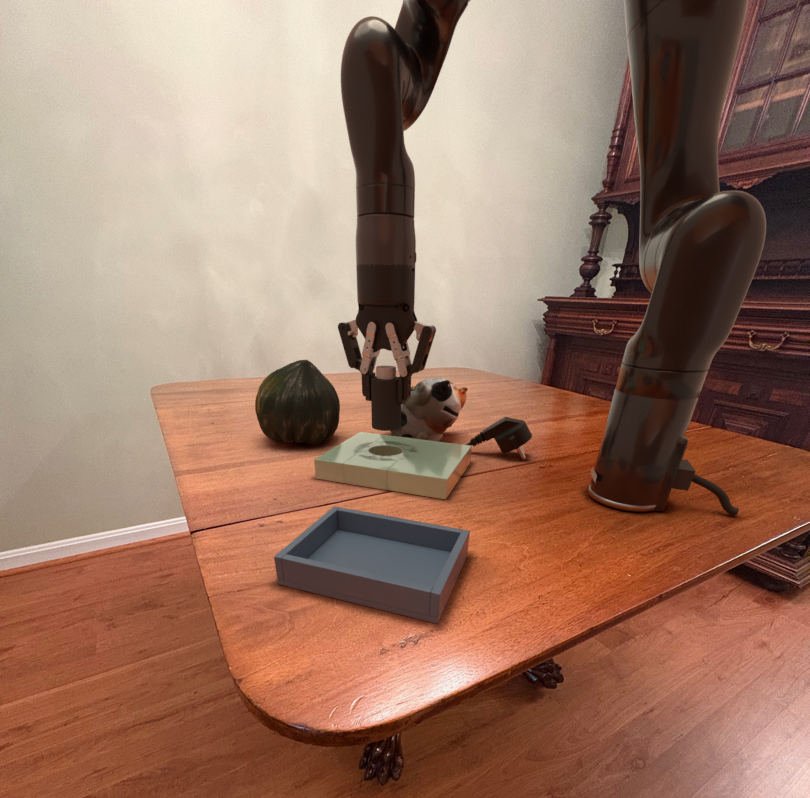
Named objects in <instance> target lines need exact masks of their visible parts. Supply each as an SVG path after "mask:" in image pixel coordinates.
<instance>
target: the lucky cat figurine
mask: <svg viewBox="0 0 810 798" xmlns="http://www.w3.org/2000/svg"><path fill="white" fill-rule="evenodd" d="M467 392H468V387H465V386H463V387H461V388H460V387H459V388H458V387H456V385H455V384H454V383H453V381H450V380H449V379H447V378H443V377H437V378H433V377H431V378H426V379H423V380H421V381H419V382H417V384H415V385H411V396H410V398H409V399H408V400H407V402H406V403H404V404H401V428H400V429H397V430H392V431H389V432H390V433H391V434H393V436H398V437H406V438H414V439H421V440H430V441H438V442H441V439H442V438H443V437H444V434H445V432H446V431H447V429H449V428H451V427H452V426H453V425H454V423H455V422H456V421H457V420H458V418H459V415H460V412H461V410H462V409H463V408H464V406H465V404H466V402H467Z"/></svg>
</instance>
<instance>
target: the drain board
mask: <svg viewBox="0 0 810 798" xmlns="http://www.w3.org/2000/svg"><path fill="white" fill-rule="evenodd" d="M472 449H473V445H471V446H470V445H466V444H463V443H462V444H461V443H454V442H444V441H439V442H438V441H430V440H421V439H414V438H406V437H398V436H395V435H388V434H381V433H374V432H365V431H360V432H358V433H356V434H354V435H353V436H351V437H349V438H347V439H346V440H344V441H342V442H341V443H339V444H337V445H336V446H334V447H332V448H331V449H328V450H327V451H326V452H324V453H321V455H319V456H317V457H316V458H314V460H313V463H314V474H315V475H314V476H315V479H318V480H323V481H328V482H336V483H340V484H341V483H342V484H347V485H353V486H359V487H366V488H372V489H376V490H377V489H378V490H383V491H391V492H395V493H396V492H397V493H402V494H403V493H404V494H409V495H416V496H421V497H428V498H432V499H440V500H447V499H448V497H449V495H450V494H451V493H452V491H453V490H454V488H455V486H456V485H457V483H458V482H459V480H460V479H461V477H462V476H463V474H464V473H465V471H466V470H467V469H468V467H469V465H470V464H471V457H472Z"/></svg>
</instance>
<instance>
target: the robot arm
mask: <svg viewBox="0 0 810 798" xmlns="http://www.w3.org/2000/svg"><path fill="white" fill-rule="evenodd" d="M470 2H471V0H402V5H401V8H400V11H399V14H398V17H397V20H396V23H395V26H392V25H391V24H390V23H389V22H388V21H387V20H384V19H383V18H381V17H378V16H375V15H371V16H366V17H363V18H361V19H359V20H358V21H357V22H356V23H355V24H354V26H353V27H352V28H351V29H350V31H349V33H348V35H347V38H346V40H345V43H344V47H343V50H342V55H341V56H342V57H341V61H340V62H341V63H340V95H341V102H342V108H343V115H344V120H345V121H344V122H345V126H346V132H347V137H348V143H349V147H350V153H351V157H352V161H353V165H354V170H355V199H356V200H355V202H356V204H355V205H356V206H355V207H356V230H355V262H356V263H355V266H356V267H355V268H356V269H355V270H356V295H357V297H356V298H357V306H358V310H357V314H356V316H355V319H354V320H350V321H344V322H343V321H342V322H339V323H338V324H337V331H338V333H339V337H340V340H341V343H342V348H343V351H344V353H345V357H346V361H347V364H348V367H349V368H351V369H355V370H357V371H359V372H360V374H361V393H362V397H365V401H366V402H371V378H372V377H375V376H376V372H374V370H375V369H376V363H377V359H378V357H379V356H380V353H381V350H386V351H389V352H391V353H392V356H393V359H394V360H395V363H396V365H397V367H396V368H397V370H398V371H397V372H398V375H399V376H397V377H398V399H397V402H398V404H404V403H406V402H407V400H408V399H409V398H410V396H411V387H412V376H413V375H414V374H418V373H419V372H422V371H424V370H425V368H426V365H427V362H428V358H429V355H430V352H431V349H432V346H433V342H434V339H435V336H436V333H437V328H436V326H434V324H433V325H431V324H429V325H428V324H425V323H423V322H420V321H419V320H418V318H417V316H416V313H415V298H416V297H415V295H416V294H415V293H416V291H415V290H416V262H417V251H416V250H417V249H416V248H417V239H416V238H417V237H416V229H415V228H416V227H415V208H416V207H415V206H416V205H415V203H416V202H415V201H416V174H415V167H414V164H413V161H412V160H411V157H410V156H409V154H408V151H407V149H406V144H405V134H404V133H405V132H406V131H407V130H409V129H410V128H411V127H412V126H413V125H414V124H415V123H416V122H417V121H418V119H419V118H420V116H421V115H422V113H423V112H424V110H425V109H426V107H427V105H428V103H429V101H430V99H431V96H432V94H433V91H434V90H435V87H436V84H437V81H438V79H439V77H440V73H441V71H442V69H443V66H444V63H445V61H446V57H447V55H448V53H449V51H450V46H451V42H452V40H453V36H454V34H455V31H456V28H457V25H458V23H459V21H460V20H461V18H462V16H463V14H464V13H465V11H466V10H467V7H468V6H469V3H470ZM748 4H749V0H623V9H624V23H625V24H624V25H625V34H626V35H625V36H626V47H627V55H628V63H629V71H630V81H631V95H632V107H633V117H634V126H635V135H636V143H637V151H638V161H639V180H640V185H639V186H640V191H639V193H640V197H639V198H640V202H639V205H640V206H639V239H638V242H639V245H638V250H639V251H638V265H639V273H640V274H639V275H640V277H641V281H642V283H643V285H644V286H645V288H646V290H647V291H648V292H649V293H650V298H649V302H648V304H647V308H646V312H645V314H644V317H643V320H642V321H641V324H640V326H639V328H638V329H637V331H636V332H635V333H634V335H632V336H631V337H630V338H629V339H628V341H627V343H626V346H625V349H624V353H623V356H622V360H621V364H620V368H619V371H618V376H617V379H616V384H615V387H614V392H613V395H612V399H611V403H610V406H609V411H608V415H607V419H606V422H605V426H604V430H603V434H602V437H601V442H600V446H599V450H598V453H597V457H596V461H595V465H594V467H593V466H591V469H590V476H591V479H590V484H589V485H588V489H587V493H588V496H589V497H590V498H591V499H592V500H594V501H596V502H597V503H600V504H601V505H604V506H606V507H610V508H613V509H617V510H621V511H627V512H638V513H639V512H640V513H642V512H643V513H645V512H646V513H647V512H652V511H653V512H655V511H656V512H664V511H665V508H666V505H667V503H668V500H669V498H670V494H671V493H672V489H673V490H674V489H675V490H681V491H687V492H688V491H689V490H690V486H691V485H692V483H693V484H696V485H698V486H700V487H702V488H704V489H705V490H708V491H709V492H710V493H712V494H713V495H714V496H715V497H716V498H717V499H718V501H719V503H720V506H721V507H722V509H723V510H724V512H726V513H727V514H728V515H731V516H737V515H738V514H739V511H740V509H739V507H734V506H733V505H732V502H731V500H730V498H729V496H728V494H727V493H726V492H725V490H724V489H722V488H721V487H720V486H718V485H717V484H715V483H714V482H712V481H710V480H709V479H706V478H704V477H703V476H700V475H699V474H696V469H695V468H694V467H693V466H692V464H691V463H690V461H689V460H688V459H684V456H685V453H686V450H687V448H688V445H689V438H688V437H687V436H686V434H687V431H688V429H689V426H690V423H691V420H692V417H693V415H694V411H695V409H696V406H697V403H698V401H699V397H700V394H701V392H702V389H703V387H704V383H705V381H706V377H707V375H708V373H709V369H710V367H711V365H712V361H713V359H714V357H715V356H716V354H717V352H718V351H719V350H720V349H721V348H722V347H723V345H724V344H725V342H726V341H727V339H728V338H729V336H730V334H731V332H732V329H733V328H734V325H735V322H736V321H737V318H738V316H739V313H740V310H741V308H742V306H743V303H744V301H745V298H746V297H747V294H748V291H749V288H750V286H751V283H752V281H753V280H754V276H755V275H756V271H757V269H758V266H759V263H760V260H761V258H762V253H763V249H764V246H765V241H766V236H767V218H766V212H765V209H764V207H763V205H762V204H761V202H760V201H759V200H758V199H757V198H756V197H755V196H754V195H752V194H750V192H749V193H748V192H746V191H743V190H732V189H731V190H723V191H720V178H719V177H720V175H719V173H720V172H719V140H720V139H719V138H720V129H721V121H722V116H723V111H724V107H725V103H726V98H727V95H728V90H729V87H730V83H731V79H732V74H733V71H734V67H735V63H736V59H737V54H738V51H739V47H740V44H741V38H742V36H743V35H742V34H743V30H744V25H745V22H746V16H747V11H748V6H749V5H748ZM359 331H360V333H361V335H362V337H363V338H364V343H363V348H362V352H361V349H360V345H359V342H358V338H357V337H358V336H359ZM414 331H415V338H416V340H417V341H418V343H417V346H416V350H415V353H414V357H413V360H411V352H410V347H409V343H408V341H409V339H410V338H411V336H412V334H413V333H414Z"/></svg>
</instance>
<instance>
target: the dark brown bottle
mask: <svg viewBox="0 0 810 798" xmlns="http://www.w3.org/2000/svg"><path fill="white" fill-rule="evenodd" d="M398 377H399V376H397V367H396V366H394V365H378V366H375V377H372V378H371V401H370V403H371V404H370V405H371V408H370V409H371V428H372V429H373V430H377V431H381V432H383V431H384V432H390V431H392V430H397V429H400V428H401V404H398V402H397V399H398Z"/></svg>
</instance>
